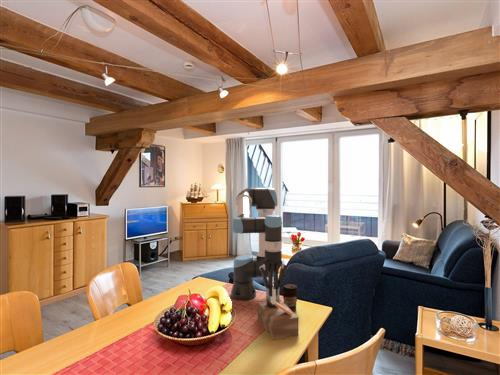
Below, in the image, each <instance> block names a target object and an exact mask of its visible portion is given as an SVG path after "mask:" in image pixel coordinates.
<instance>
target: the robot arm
mask: <svg viewBox="0 0 500 375" xmlns="http://www.w3.org/2000/svg"><path fill="white" fill-rule="evenodd" d="M235 204H236V207H237V209H236V217H233V218H232V232H233V234H240V235H242V234H258V252H257V253H256V257H254V256H253V255H251V254H243V255H239V256H236V257H235V258H234V259H233V266H232V267H233V284H232V288H231V290H230V296H231V298H232V299H235V300H236V301H237V300H238V301H249V300H252V299H255V297H256V296H257V290H256V288H255V287H256V286H255V285H254V279H261V278H262V281H263V285H264V287H265V289H266V288H267V289H269V296H270V302H271V303H272V304H276V296H277V295H278V289H279V290H280V288H282V286H283V281H284V277H285V272H286V270H287V268H288V265H287V264H285V263H283V260H282V259H283V256H282V254H283V252H282V248H283V247H282V246H283V245H282V238H283V236H282V233H283V232H282V226H283V222H282V216H281V215H278V214H274V213H273V212H274V211H275V210H276V208H277V207H278V195H277V192H276V189H275V188H273V187H268V186H267V187H247V188H245V189H242V190H241V191H240V192H239V193H238V194H237V195H236V199H235ZM252 207H254V208H255V210H256V211H257V212H258V216H256V217H254V216H253V217H252ZM273 286H274V287H273Z"/></svg>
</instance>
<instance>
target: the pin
mask: <svg viewBox="0 0 500 375" xmlns="http://www.w3.org/2000/svg"><path fill="white" fill-rule="evenodd" d="M273 287H274V286H273ZM265 289H266V291H265V292H266V293H265V295H266V296H265V298H266V299H265V301H266V306H267V307H269V308H277V306H276V305H275V304H272V303H271V302H270V296H269V289H267V288H266V287H265ZM280 296H281V295H280V288H279V289H278V295H277V296H276V302H278V303H279V304H280V300H281V299H280Z"/></svg>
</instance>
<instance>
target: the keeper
mask: <svg viewBox="0 0 500 375" xmlns="http://www.w3.org/2000/svg"><path fill="white" fill-rule="evenodd" d="M275 305H276V306H277V307H278V308H280V309H281V310H283V311H284V312H286V313H288V314H289V315H291V316H292V313H291V312H290V311H289V310H288V309H287V308H285V307H284V306H282V305H281V304H279V303H278V302H276V304H275Z"/></svg>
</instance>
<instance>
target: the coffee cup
mask: <svg viewBox="0 0 500 375" xmlns="http://www.w3.org/2000/svg"><path fill="white" fill-rule="evenodd" d="M281 290H282V298H283V303H284V304H285V305H286V306H287V307H288V308H290V309H291V310H292V311H293V312H294V313H296V312H297V301H298V291H299V288H298V287H297V285H296V284H293V283H292V284H291V283H288V284H284V285H283V287H281Z"/></svg>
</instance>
